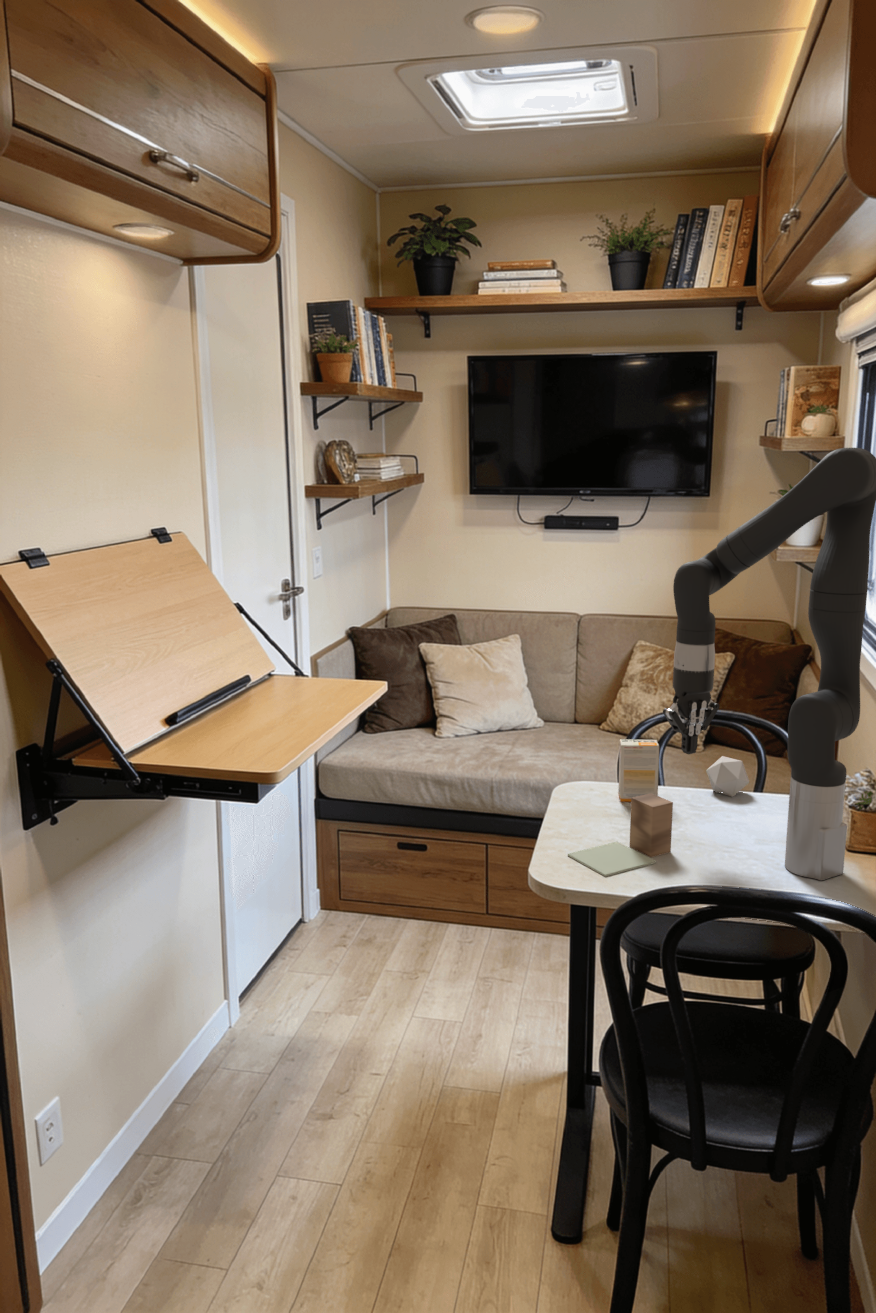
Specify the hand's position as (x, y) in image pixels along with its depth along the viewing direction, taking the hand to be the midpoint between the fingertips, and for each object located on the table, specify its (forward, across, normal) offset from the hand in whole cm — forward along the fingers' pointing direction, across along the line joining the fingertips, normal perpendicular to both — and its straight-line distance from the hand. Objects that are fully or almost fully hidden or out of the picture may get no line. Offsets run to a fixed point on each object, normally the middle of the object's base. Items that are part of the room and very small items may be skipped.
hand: (689, 752), depth 192 cm
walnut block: (+18, -9, 0) cm, 20 cm away
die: (+18, +28, +16) cm, 37 cm away
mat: (+18, -19, 0) cm, 26 cm away
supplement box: (+18, +8, +23) cm, 30 cm away
